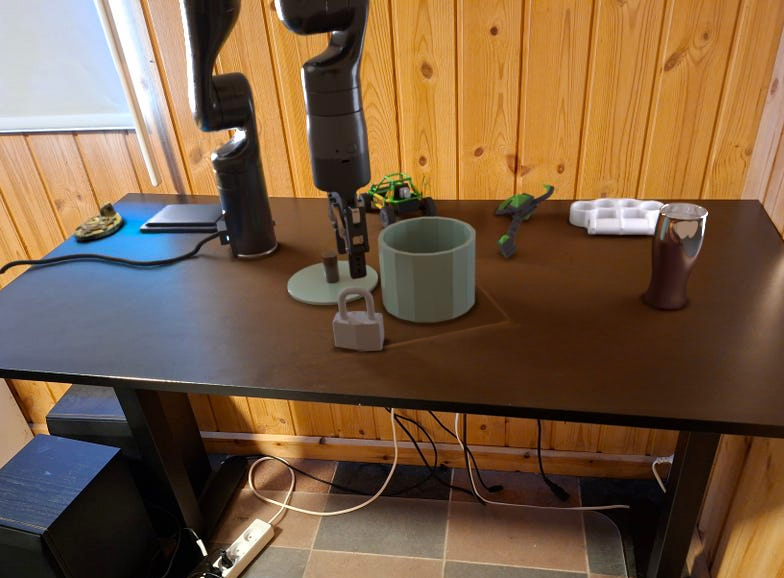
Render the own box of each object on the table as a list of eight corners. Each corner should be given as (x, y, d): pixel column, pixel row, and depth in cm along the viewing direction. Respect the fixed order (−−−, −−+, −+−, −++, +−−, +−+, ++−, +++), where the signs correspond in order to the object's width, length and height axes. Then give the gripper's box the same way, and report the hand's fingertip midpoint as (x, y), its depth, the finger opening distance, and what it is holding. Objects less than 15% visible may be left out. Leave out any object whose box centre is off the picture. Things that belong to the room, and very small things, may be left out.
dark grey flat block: (135, 224, 141) (166, 200, 153) (137, 232, 142) (168, 207, 154) (218, 224, 137) (244, 199, 149) (220, 233, 138) (245, 207, 150)
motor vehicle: (404, 198, 148) (402, 153, 142) (442, 225, 133) (441, 175, 127) (358, 208, 145) (354, 162, 139) (392, 237, 129) (388, 186, 124)
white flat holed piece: (571, 238, 123) (567, 211, 135) (670, 239, 119) (657, 210, 131) (573, 222, 121) (569, 195, 133) (673, 222, 117) (660, 195, 129)
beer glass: (687, 292, 102) (707, 203, 94) (689, 313, 97) (711, 220, 89) (641, 288, 105) (657, 200, 96) (641, 308, 99) (657, 217, 91)
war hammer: (531, 227, 111) (552, 166, 134) (466, 248, 118) (497, 187, 140) (542, 256, 114) (562, 191, 136) (478, 275, 120) (507, 210, 143)
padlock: (334, 351, 95) (326, 293, 90) (340, 337, 98) (333, 280, 93) (381, 353, 94) (375, 293, 88) (385, 339, 97) (380, 280, 92)
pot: (398, 332, 98) (393, 262, 92) (374, 290, 111) (368, 225, 104) (489, 314, 101) (490, 244, 94) (455, 274, 113) (455, 210, 107)
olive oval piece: (105, 246, 139) (133, 219, 151) (100, 226, 136) (129, 200, 149) (64, 243, 140) (95, 216, 152) (58, 223, 137) (91, 197, 149)
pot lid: (295, 315, 105) (289, 282, 102) (282, 275, 118) (277, 244, 115) (388, 297, 108) (386, 265, 105) (366, 260, 121) (363, 230, 118)
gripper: (300, 138, 85) (316, 250, 94) (319, 167, 73) (335, 291, 82) (355, 130, 86) (365, 241, 95) (382, 157, 74) (391, 281, 83)
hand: (351, 264), depth 89 cm, fingers open, 8 cm apart
